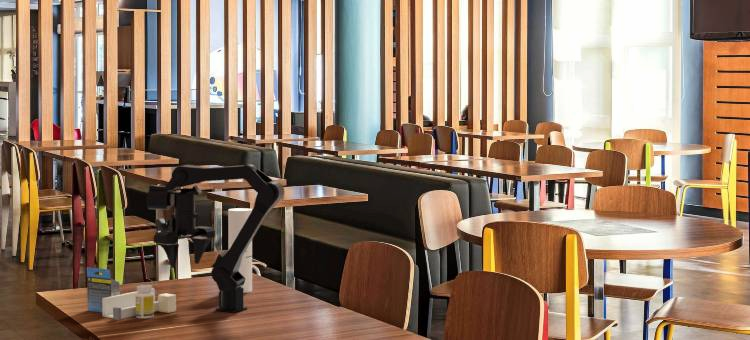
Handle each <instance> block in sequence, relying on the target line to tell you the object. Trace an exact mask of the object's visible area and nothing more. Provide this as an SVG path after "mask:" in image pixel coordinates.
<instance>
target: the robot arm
mask: <svg viewBox="0 0 750 340" xmlns="http://www.w3.org/2000/svg"><path fill="white" fill-rule="evenodd" d="M229 180H231V181H232V180H245V181H246V182H247V183H248V185H250V187H251V188H252V190H254V191H255V192H256V197H255V200H254V203H253V208H252V212H251V213H250V215H249V217H248V219H247V220H246V222H245V224H244V225H243V227H242V229H241V230H240V232H239V234H238V236H237V237H236V239H235V241H234V242H233V244H232V246H231V248H230V249H229V251H228V250H227V251H222V252H221V253H218V255H217V256H216V259H215V261H214V263H213V264H212V265H211V266H210V267H211V271H210V272H211V273H210V275H211V278H212V280H213V281H214V282H215V283H216V285H217V288H218V290H219V292H218V307H215V310H216V311H222V312H227V313H235V312H239V311H243V310H248V306H244V293H243V288H242V287H241V286H243V285H244V282H245V280H246V279H245V277H244V276H243V275H242V274H241V273H240V272H239V271H238V270H239V267H240V265H241V260H242V256H243V254H244V252H245V251H246V249H247V247H248V246H249V244H250V242H251V241H252V242H253V239H254V237H255V235H256V234H257V232H258V230H259V229H260V227H261V225H262V223H263V222H264V220H265V219H266V217H267V215H268V214H269V213H270V212H271V211H272V210H273V209H274V208H275V207H276V206H277V204H278V203H279V202H280V201H281V200H282V199H283V197H284V195H285V189H284V186H283V184H282V183H281V182H279V181H277V180H273V179H272V178H271V177H270V176H268V175H267V174H265V173H264V172H263V171H261V169H259V168H258V167H256V165H255V164H252V163H249V164H244V165H242V164H241V165H231V166H229V165H228V166H215V167H214V166H213V167H207V166H206V167H204V166H199V165H195V164H194V165H193V164H185V165H179V166H176V167H175V168H174V169H173V170H172V172H171V178H170V179H169V181H168V182H167V183H166V185H155V184H151V185H149V188H148V192H147V193H146V194H147V195H146V198H145V201H146V202H145V203H146V204H145V205H146V206H147V209H148V210H161V211H162V210H163V211H164V210H165V211H170V209H171V207H173V208H174V210H173V211H174V213H171V214H170V219H166V220H165V218H162V217H161V218H157V219H155V224H154V225H155V230H156V232H155V233H154V235H153V244H155V243H156V245H157V246H160V247H161V248H162V249H163V250H164V253H165V255H166V257H167V260H168V263H169V265H170V268H172V269H174V268H175V267H176V264H177V258H178V253H179V252H178V251H179V246H180V244H179V243H177V242H178V241H179V240H183V239H190V240H191V242H192V244H193V256H194V257H193V258H194V263H195V264H197V265H198V264H200V261H201V260H202V257H203V255H204V253H205V252H206V249H207V247H208V246H209V244H210V242H212V241H213V239H212V238H215V237H216V230H215V229H214V228H213V227H211V226H202V225H201V226H199V225H198V226H196V219H197V218H199V213H196V196H199V195H201V194H203V191H202V190H201V189H200V188H199V187H198V185H197V184H199V183H203V182H212V181H214V182H215V181H229ZM191 185H192V187H191V188H190V187H188V186H191ZM193 185H194V186H193ZM180 188H181V189H180ZM177 189H180V190H179V191H177Z"/></svg>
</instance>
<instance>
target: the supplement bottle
mask: <svg viewBox="0 0 750 340" xmlns="http://www.w3.org/2000/svg"><path fill="white" fill-rule="evenodd" d="M152 288H153V286H152V285H150V284H140V285H136V291H137V292H138V293H136V296H135V298H136V316H135V318H137V319H152V318H154V314H155V312H154V295H153V293H152V292H151V291H152Z"/></svg>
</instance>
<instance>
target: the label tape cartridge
mask: <svg viewBox="0 0 750 340" xmlns="http://www.w3.org/2000/svg"><path fill="white" fill-rule="evenodd" d="M98 272H99V274H96V273H98ZM111 276H112V275H111V269H106V268H105V269H104V268H98V267H89V266H86V287H87V288H86V291H87V292H86V294H87V297H86V298H87V312H94V313H102V298H106V297H111V296H116V295H121V291H120V288H121V286H120V283H121V282H120V281H117V280H116V279H113V278H112V277H111Z"/></svg>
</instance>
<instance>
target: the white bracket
mask: <svg viewBox="0 0 750 340" xmlns="http://www.w3.org/2000/svg"><path fill="white" fill-rule="evenodd" d="M151 292H152V293H153V295H154V313H155V312H161V313H165V314H166V313H168V314H169V313H173V312H176V311H177V295H176V294H173V293H167V292H165V293H160V294H157V301H156V288H153V287H152V291H151ZM136 293H138V292H137V290H136V291H132V292H126V293H122V294H121V293H120V295H116V296H111V297H106V298H102V315H101V316H102V317H103V318H108V319H109V318H110V319H112V320H114V321H115V320H116V321H121V320H125V319H128V318H133V317H136V298H135V296H136Z"/></svg>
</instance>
